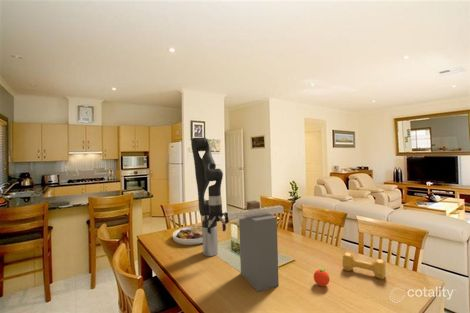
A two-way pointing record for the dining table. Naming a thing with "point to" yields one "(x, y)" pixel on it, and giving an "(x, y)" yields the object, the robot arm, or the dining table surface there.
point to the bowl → (188, 235)
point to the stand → (259, 251)
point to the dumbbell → (364, 265)
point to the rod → (255, 212)
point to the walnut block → (253, 205)
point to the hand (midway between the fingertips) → (216, 232)
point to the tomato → (321, 277)
